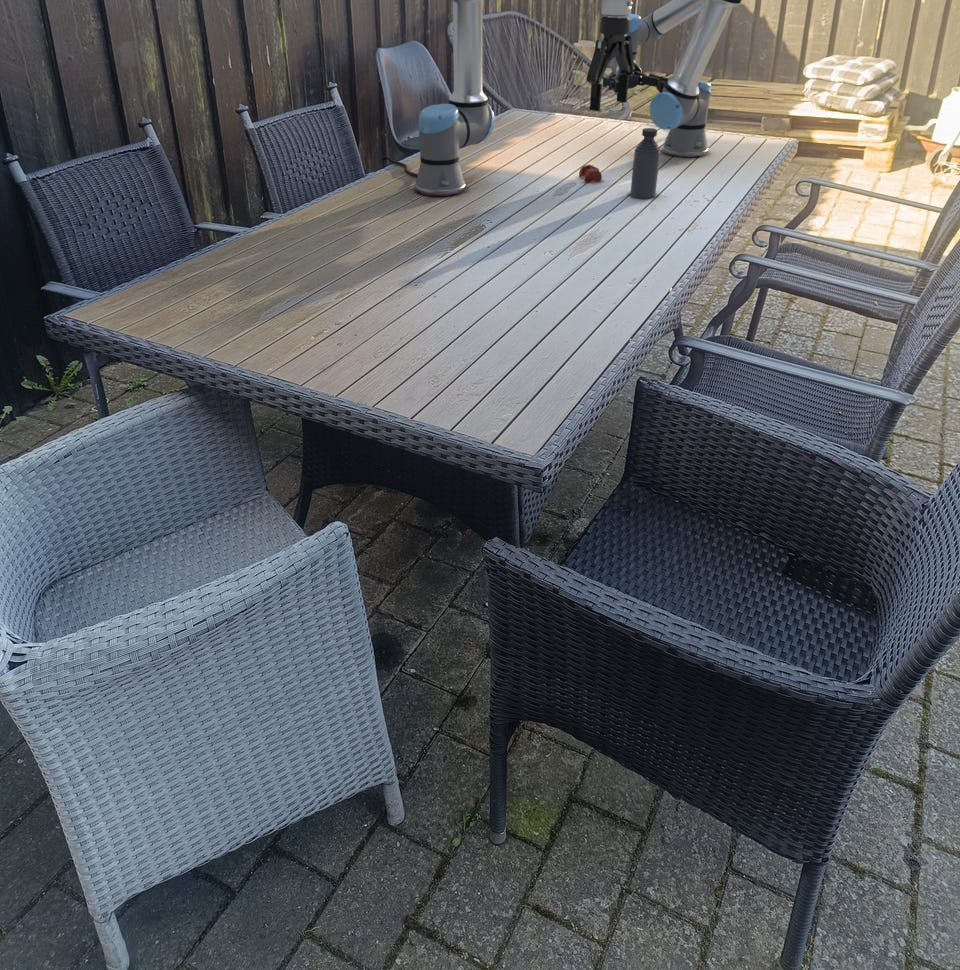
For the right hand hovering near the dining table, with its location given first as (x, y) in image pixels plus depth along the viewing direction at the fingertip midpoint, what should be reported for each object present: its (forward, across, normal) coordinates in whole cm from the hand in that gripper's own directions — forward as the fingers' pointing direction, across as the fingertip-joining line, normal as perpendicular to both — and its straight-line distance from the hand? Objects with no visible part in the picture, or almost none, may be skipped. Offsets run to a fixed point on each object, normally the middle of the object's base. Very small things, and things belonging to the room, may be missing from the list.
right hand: (639, 87), depth 255 cm
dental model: (+4, +13, -26) cm, 30 cm away
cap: (+20, -1, -8) cm, 22 cm away
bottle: (+20, -1, -26) cm, 33 cm away
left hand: (+35, +14, +2) cm, 38 cm away
